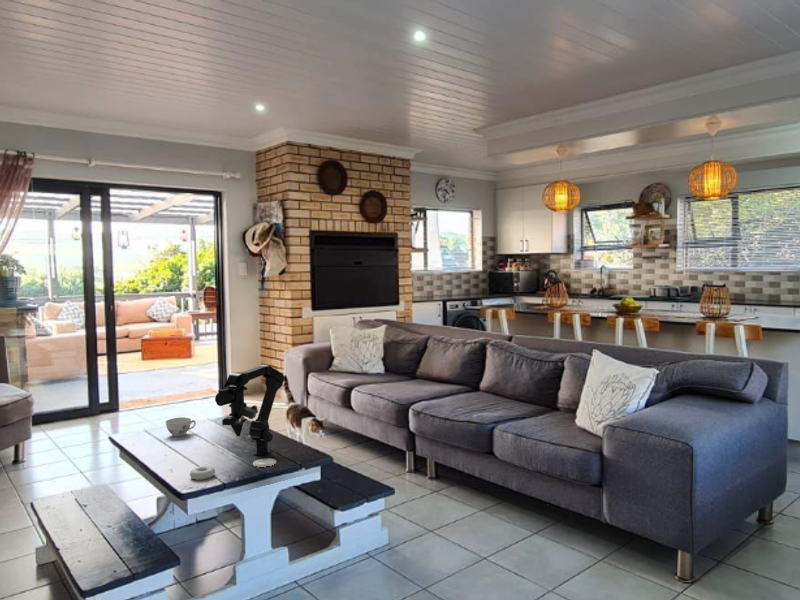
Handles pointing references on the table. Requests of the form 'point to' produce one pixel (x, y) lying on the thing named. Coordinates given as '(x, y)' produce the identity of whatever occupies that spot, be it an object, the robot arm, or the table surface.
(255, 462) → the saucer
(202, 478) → the donut
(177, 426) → the teacup
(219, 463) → the table surface
